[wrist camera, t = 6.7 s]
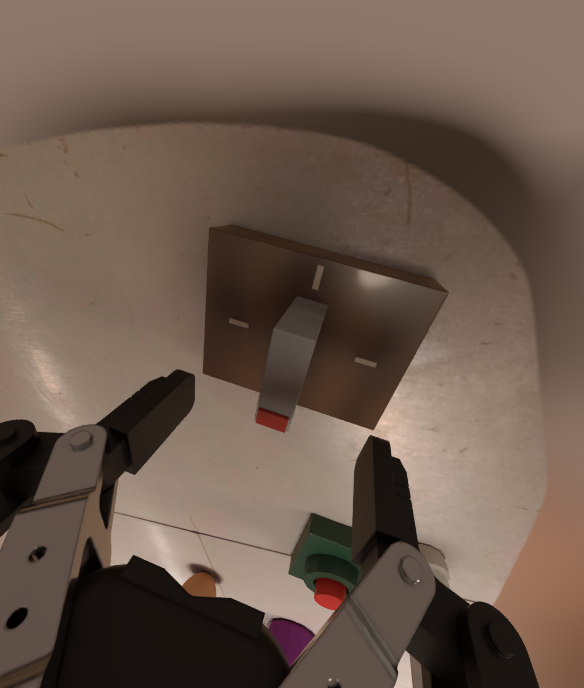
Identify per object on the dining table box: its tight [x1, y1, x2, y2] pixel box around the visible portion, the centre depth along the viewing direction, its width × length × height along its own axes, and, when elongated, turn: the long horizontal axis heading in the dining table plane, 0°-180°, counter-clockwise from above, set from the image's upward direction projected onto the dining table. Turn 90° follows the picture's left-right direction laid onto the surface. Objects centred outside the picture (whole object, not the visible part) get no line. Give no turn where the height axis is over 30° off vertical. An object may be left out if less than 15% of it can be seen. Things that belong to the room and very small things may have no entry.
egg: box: [182, 572, 216, 597], centre depth 44 cm, size 7×7×9 cm
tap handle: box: [254, 296, 328, 433], centre depth 15 cm, size 6×2×5 cm, turn 167°
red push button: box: [314, 578, 347, 610], centre depth 30 cm, size 4×4×2 cm
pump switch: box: [288, 514, 361, 597], centre depth 32 cm, size 12×9×4 cm
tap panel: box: [203, 225, 448, 430], centre depth 18 cm, size 14×11×3 cm
